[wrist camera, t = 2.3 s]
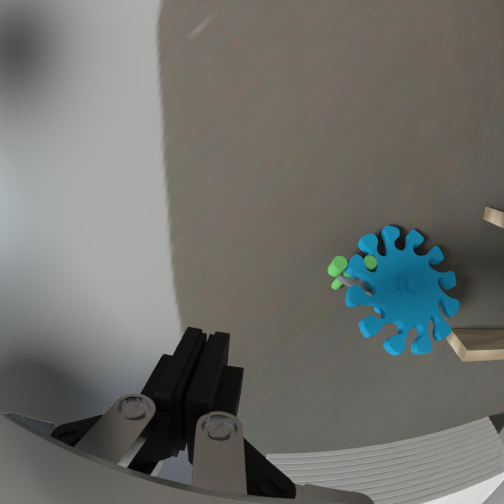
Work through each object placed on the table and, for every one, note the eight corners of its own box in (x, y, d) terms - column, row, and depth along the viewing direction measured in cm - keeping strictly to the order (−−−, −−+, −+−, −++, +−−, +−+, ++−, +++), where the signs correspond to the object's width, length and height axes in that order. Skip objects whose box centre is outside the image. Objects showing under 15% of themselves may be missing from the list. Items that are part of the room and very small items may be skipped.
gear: (467, 251, 21) (454, 369, 17) (431, 279, 26) (411, 379, 22) (354, 196, 22) (315, 317, 18) (332, 234, 28) (295, 336, 23)
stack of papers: (271, 487, 36) (265, 546, 26) (266, 452, 33) (260, 523, 23) (463, 456, 32) (482, 503, 22) (487, 415, 29) (515, 466, 19)
